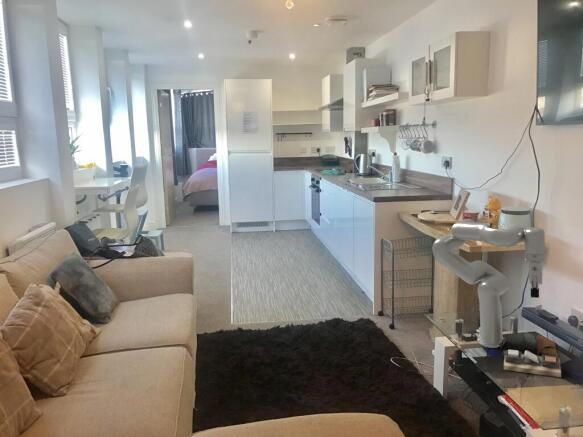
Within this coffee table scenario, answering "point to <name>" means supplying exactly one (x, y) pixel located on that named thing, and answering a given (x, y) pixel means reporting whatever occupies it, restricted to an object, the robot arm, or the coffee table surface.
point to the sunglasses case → (545, 346)
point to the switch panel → (532, 365)
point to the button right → (550, 358)
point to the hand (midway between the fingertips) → (534, 296)
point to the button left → (513, 353)
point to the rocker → (531, 356)
